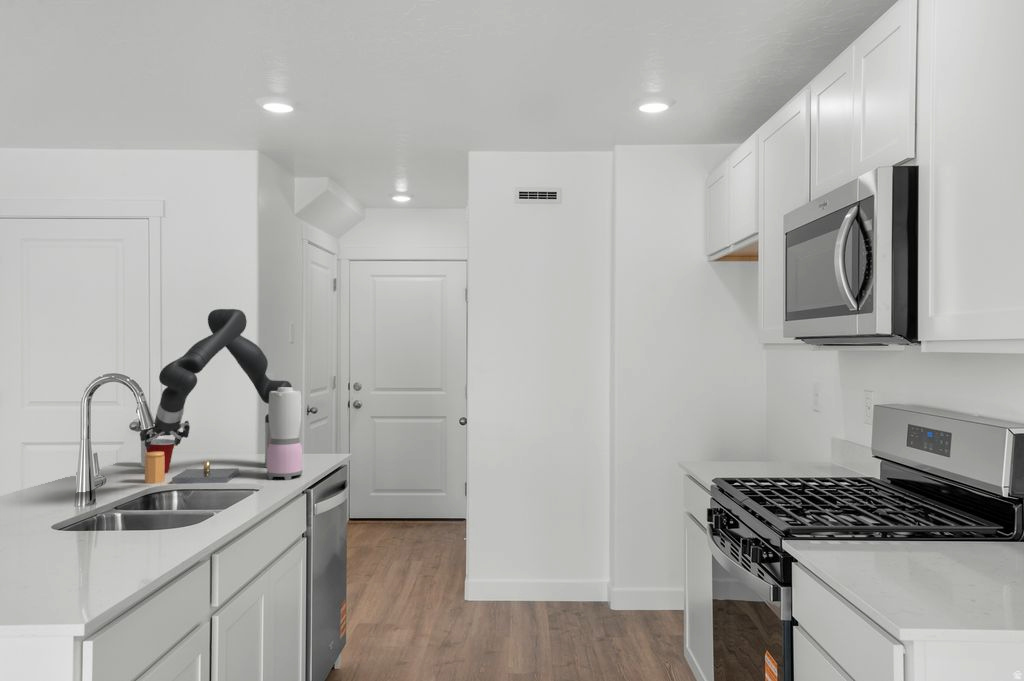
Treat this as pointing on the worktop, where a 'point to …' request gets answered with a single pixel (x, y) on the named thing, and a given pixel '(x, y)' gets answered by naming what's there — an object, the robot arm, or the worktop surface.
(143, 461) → the pill bottle
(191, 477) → the plate
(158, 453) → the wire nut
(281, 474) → the blender
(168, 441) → the plastic cup
